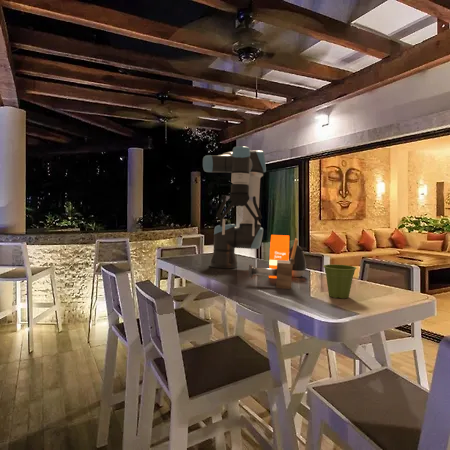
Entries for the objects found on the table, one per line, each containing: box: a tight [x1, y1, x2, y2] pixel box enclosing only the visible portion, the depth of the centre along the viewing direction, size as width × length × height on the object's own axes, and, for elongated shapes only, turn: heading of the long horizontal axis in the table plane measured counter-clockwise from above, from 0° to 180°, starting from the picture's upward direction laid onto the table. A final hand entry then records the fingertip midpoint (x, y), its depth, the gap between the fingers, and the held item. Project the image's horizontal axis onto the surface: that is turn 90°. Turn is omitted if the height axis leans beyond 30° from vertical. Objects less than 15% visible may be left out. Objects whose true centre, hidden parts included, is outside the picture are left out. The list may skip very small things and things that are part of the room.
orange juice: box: [268, 234, 290, 279], centre depth 170 cm, size 8×9×20 cm
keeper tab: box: [290, 237, 299, 259], centre depth 148 cm, size 8×10×1 cm
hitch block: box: [275, 256, 295, 290], centre depth 149 cm, size 10×7×12 cm, turn 172°
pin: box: [248, 264, 277, 278], centre depth 150 cm, size 5×17×5 cm, turn 82°
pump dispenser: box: [289, 244, 307, 278], centre depth 174 cm, size 10×10×15 cm
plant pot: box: [322, 263, 357, 299], centre depth 134 cm, size 12×12×11 cm
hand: (238, 235), depth 152 cm, fingers open, 12 cm apart
